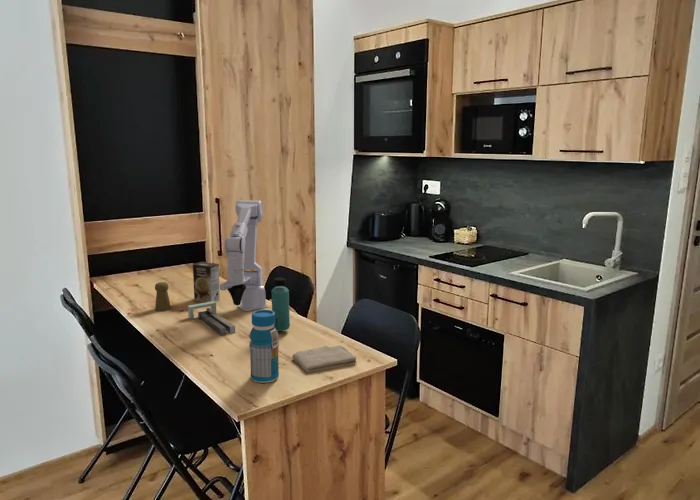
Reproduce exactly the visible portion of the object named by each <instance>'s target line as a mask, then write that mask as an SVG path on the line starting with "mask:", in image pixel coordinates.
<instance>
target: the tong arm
mask: <svg viewBox="0 0 700 500" xmlns="http://www.w3.org/2000/svg"><path fill="white" fill-rule="evenodd" d="M205 311H208V312H210V313H209V316H210V317H211V318H213V319H214V320H215V321H217V322H218V323H220V324H221V325H222V326H224V327H225V328H226V333H228V334H234V333H236V325H235V324H233V323H232V322H230V321H228V320H227V319H225V318H224V317H222V316H221V315H219V314H217V312H216V313H212V312H214V311H213V310H212V309H211V307H209V308H208V307H206V310H205Z"/></svg>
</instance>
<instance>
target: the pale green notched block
mask: <svg viewBox="0 0 700 500" xmlns="http://www.w3.org/2000/svg"><path fill="white" fill-rule="evenodd" d="M208 307H209V308H211V309H212V310H213V311H214V312H212V313H216V314H217V301H216V302H214V301H212V302H206V303H205V302H200V303H195V304H191V305H187V312H188V313H187V314H188V316H187V317H188V319H190V320H193V319H195V318H194V310H197V309H203V308H208Z"/></svg>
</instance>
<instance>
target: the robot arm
mask: <svg viewBox="0 0 700 500" xmlns="http://www.w3.org/2000/svg"><path fill="white" fill-rule="evenodd" d="M235 213H236V215H237V221H236V223H234V224H233V226H232V228H231V230H230V234H229V236H228V237H226V238H225V240H224V251H225V256H226V258H227V276H228V277H227V279H226V281H225V282H223V283H221V284H219V291H223V292H224V291H226V290H227V291H228V292H229V294H230V297H231V299H232V303H233V305H234V306H237V307H239V308H240V310H243V311H245V312H249V311H254V310H255V311H256V310H261V309H264V308H267V305H266V304H267V301H266V300H267V299H266V298H267V297H266V289H265V286H264V285H263V283H264V282H263V281H264V280H263V279H264V277H263V276H264V274H263V268H262V266H261V265H260V264H258V263H257V262H256V260H257V239H258V236H257V235H258V233H257V232H258V224H259V223H260V222H262V221H263V220H262V219H263V213H264V212H263V202H262V201H261V200H260V199H259V200H258V199H257V200H247V199H246V200H245V199H243V200H242V199H241V200H240V199H237V200H236V202H235Z"/></svg>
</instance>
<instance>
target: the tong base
mask: <svg viewBox="0 0 700 500" xmlns="http://www.w3.org/2000/svg"><path fill="white" fill-rule="evenodd" d="M209 313H210V312H208V311H207V310H204V311H199V312H197V318H198V320H199V321H201V322H202V323H203V324H205V325H206V326H207V327H209V328H210V329H211V330H212V331H214V332H215V333H216V334H218V335H219V336H225V335H226V334H227V331H226V328H225V327H224V326H222V325H221V324H220V323H218V322H217V321H215V320H214V319H213V318H211V317H210V316H209Z"/></svg>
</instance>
